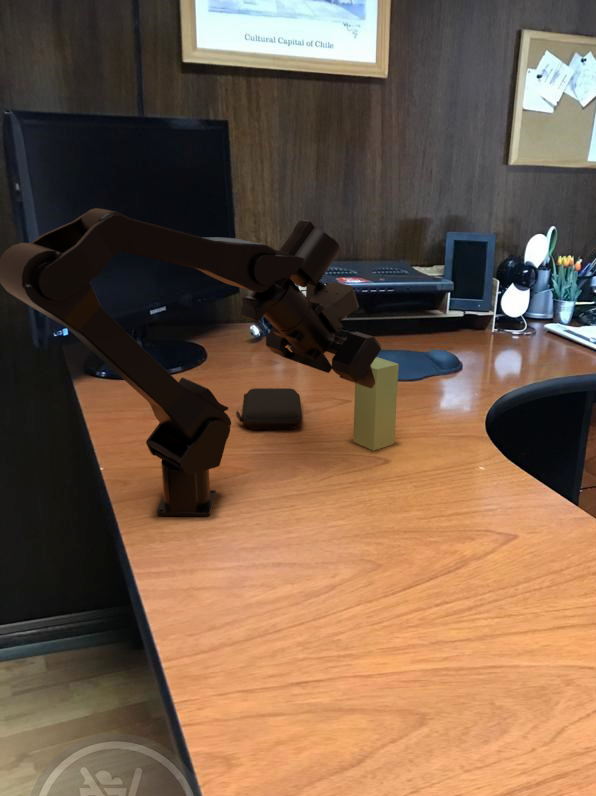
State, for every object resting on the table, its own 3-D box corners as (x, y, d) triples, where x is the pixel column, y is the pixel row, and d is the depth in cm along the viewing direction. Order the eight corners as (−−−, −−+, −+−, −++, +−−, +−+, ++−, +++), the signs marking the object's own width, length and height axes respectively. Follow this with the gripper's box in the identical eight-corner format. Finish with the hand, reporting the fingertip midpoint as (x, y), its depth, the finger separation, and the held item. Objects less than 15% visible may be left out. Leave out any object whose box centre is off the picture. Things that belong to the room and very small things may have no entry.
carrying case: (238, 401, 136) (235, 432, 122) (238, 385, 135) (234, 414, 121) (299, 401, 137) (303, 432, 124) (299, 385, 136) (303, 414, 123)
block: (373, 451, 118) (377, 369, 113) (353, 442, 121) (355, 362, 116) (394, 443, 121) (398, 363, 116) (374, 435, 124) (377, 357, 119)
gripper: (373, 276, 97) (426, 347, 109) (281, 255, 109) (338, 321, 121) (325, 347, 95) (385, 412, 106) (236, 317, 107) (298, 379, 118)
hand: (350, 377), depth 113 cm, fingers open, 9 cm apart
